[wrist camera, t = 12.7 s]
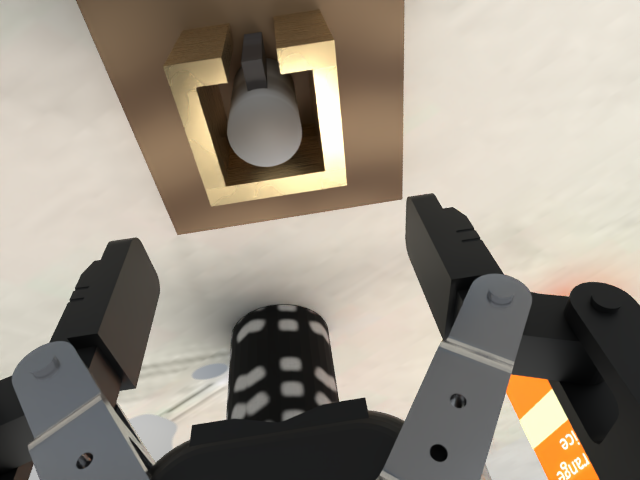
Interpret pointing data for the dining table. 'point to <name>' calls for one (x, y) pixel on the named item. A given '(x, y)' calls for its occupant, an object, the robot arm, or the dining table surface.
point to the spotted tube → (279, 365)
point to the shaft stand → (259, 99)
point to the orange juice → (549, 429)
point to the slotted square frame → (211, 121)
